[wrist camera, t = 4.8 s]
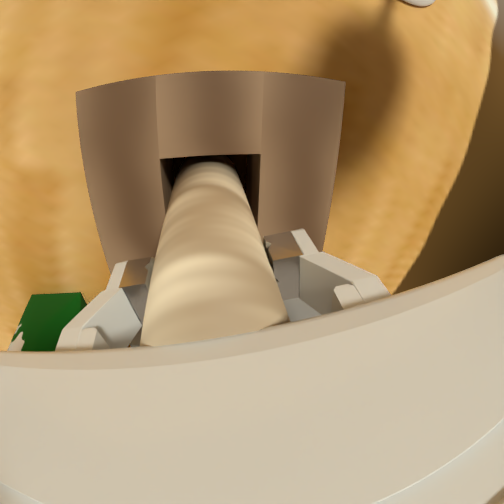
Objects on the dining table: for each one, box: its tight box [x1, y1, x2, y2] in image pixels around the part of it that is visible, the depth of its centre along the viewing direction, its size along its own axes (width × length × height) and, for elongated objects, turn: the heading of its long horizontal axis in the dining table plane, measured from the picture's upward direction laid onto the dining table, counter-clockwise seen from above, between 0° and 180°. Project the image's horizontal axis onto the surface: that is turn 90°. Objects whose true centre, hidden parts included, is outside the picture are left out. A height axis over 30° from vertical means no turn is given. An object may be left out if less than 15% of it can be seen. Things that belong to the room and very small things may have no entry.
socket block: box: [76, 71, 346, 274], centre depth 17 cm, size 14×14×5 cm
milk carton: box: [7, 292, 87, 352], centre depth 16 cm, size 9×9×20 cm
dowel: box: [140, 155, 290, 347], centre depth 12 cm, size 4×4×14 cm
